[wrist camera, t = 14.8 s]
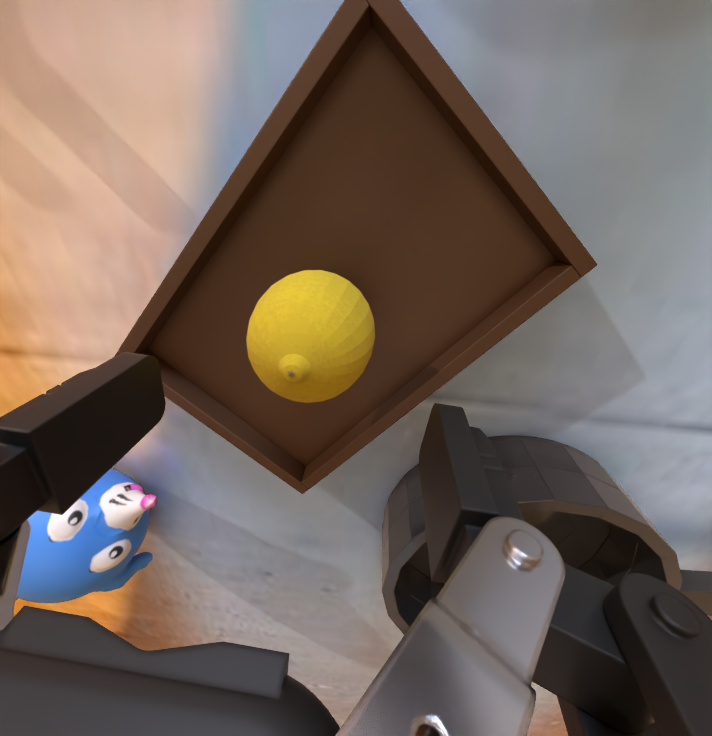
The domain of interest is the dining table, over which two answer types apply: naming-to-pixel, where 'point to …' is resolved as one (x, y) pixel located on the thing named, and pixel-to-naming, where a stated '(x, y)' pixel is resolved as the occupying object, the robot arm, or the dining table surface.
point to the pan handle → (698, 588)
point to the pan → (532, 523)
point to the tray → (359, 245)
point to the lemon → (310, 336)
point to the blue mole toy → (87, 543)
